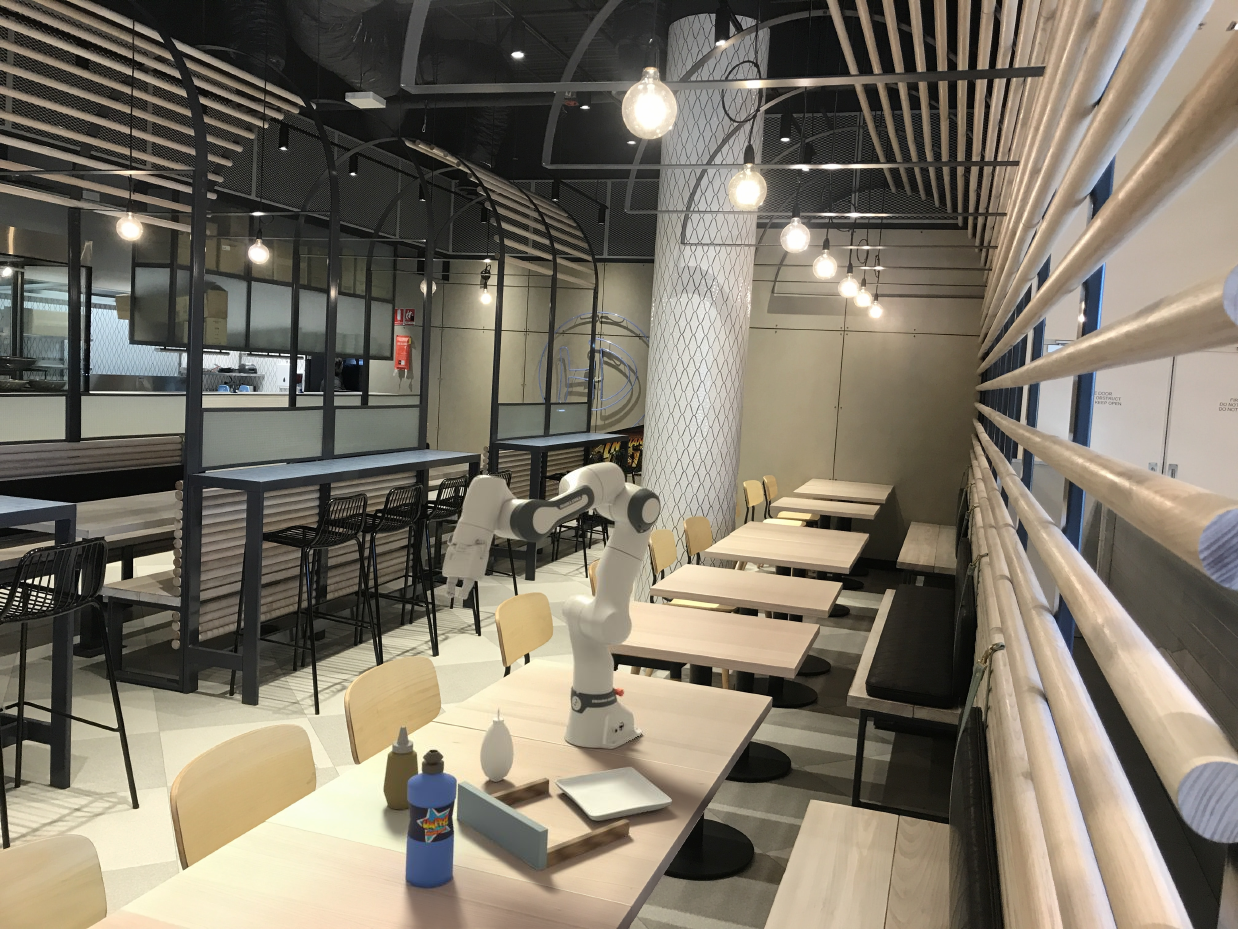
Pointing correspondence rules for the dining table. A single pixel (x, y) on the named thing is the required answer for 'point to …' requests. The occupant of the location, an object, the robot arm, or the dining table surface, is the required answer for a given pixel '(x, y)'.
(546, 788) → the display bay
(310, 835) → the dining table surface
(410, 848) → the water bottle
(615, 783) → the salad plate
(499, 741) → the white dust blower
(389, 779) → the squeeze bottle
